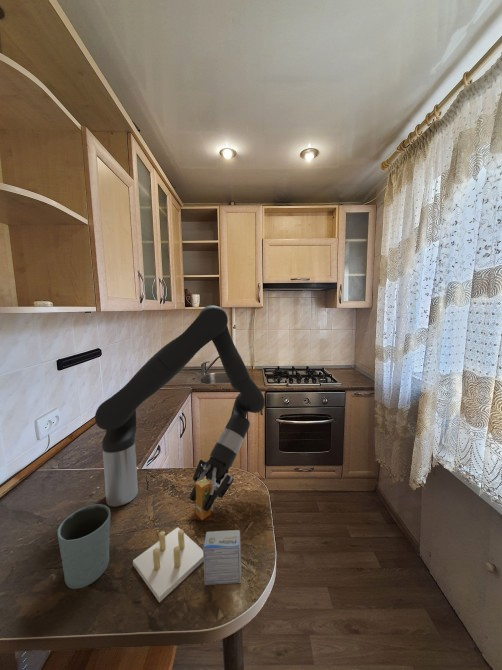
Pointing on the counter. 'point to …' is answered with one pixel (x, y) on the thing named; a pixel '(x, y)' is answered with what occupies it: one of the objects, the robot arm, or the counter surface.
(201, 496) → the supplement box
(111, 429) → the robot arm
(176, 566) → the pin plate
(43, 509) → the counter surface
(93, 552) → the teal embossed cup
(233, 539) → the medicine box
